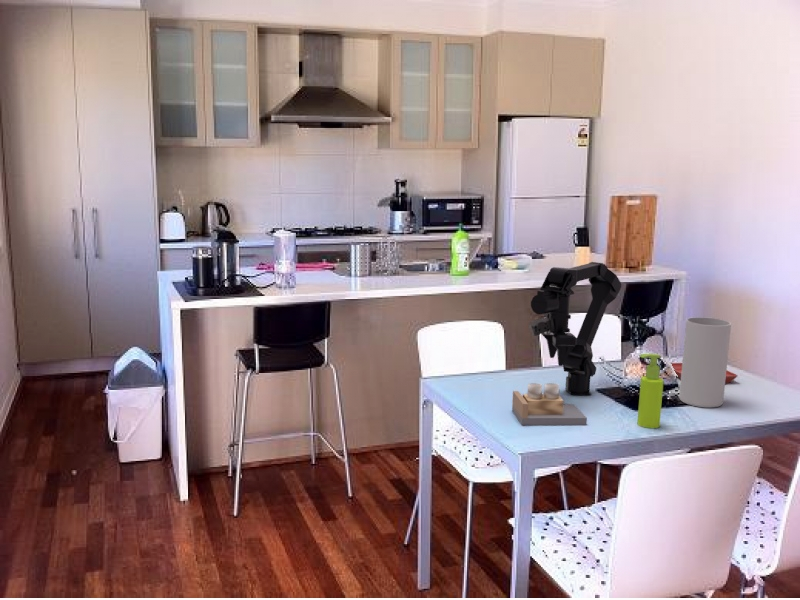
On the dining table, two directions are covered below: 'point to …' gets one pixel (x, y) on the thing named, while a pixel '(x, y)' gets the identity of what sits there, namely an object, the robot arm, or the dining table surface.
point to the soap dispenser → (650, 394)
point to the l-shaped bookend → (567, 418)
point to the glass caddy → (543, 399)
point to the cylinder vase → (704, 361)
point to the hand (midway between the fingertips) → (556, 361)
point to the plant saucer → (678, 369)
